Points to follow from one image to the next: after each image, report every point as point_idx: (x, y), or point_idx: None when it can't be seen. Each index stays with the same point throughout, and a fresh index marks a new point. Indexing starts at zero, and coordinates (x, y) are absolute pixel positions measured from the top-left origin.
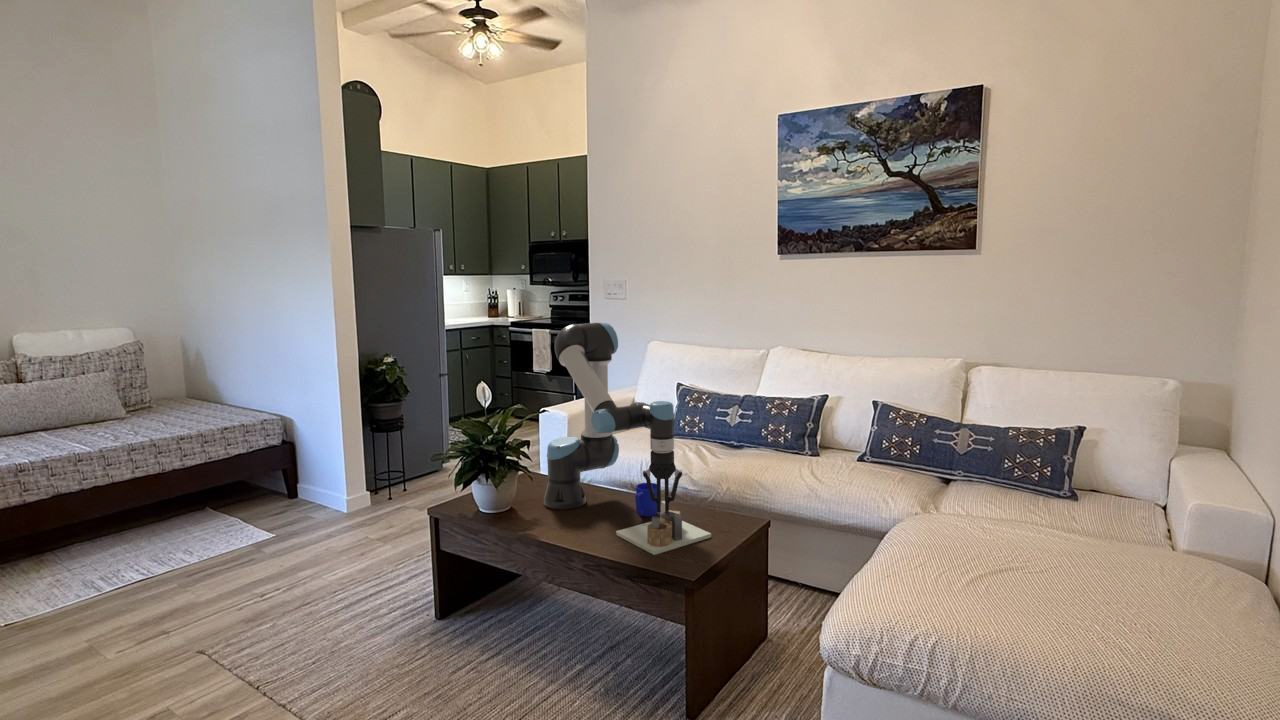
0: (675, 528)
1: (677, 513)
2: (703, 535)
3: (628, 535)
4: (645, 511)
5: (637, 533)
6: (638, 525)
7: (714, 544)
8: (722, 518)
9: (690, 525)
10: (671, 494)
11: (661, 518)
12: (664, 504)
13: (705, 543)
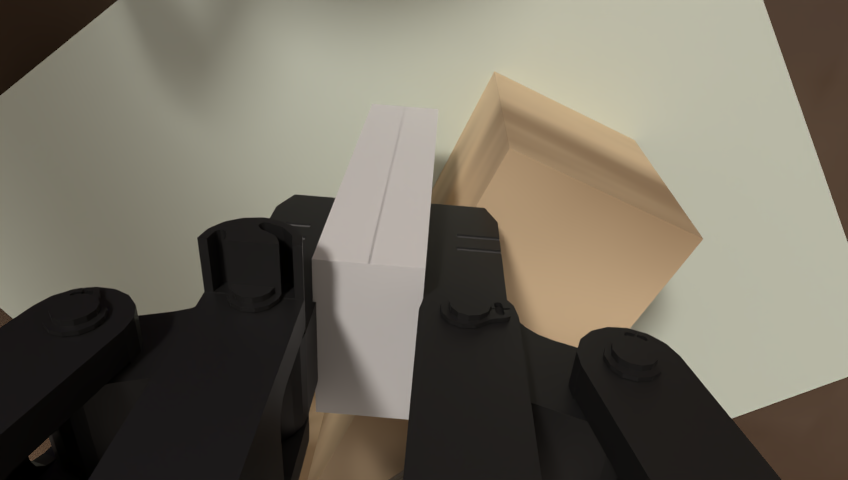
0: None
1: (621, 311)
2: (786, 393)
3: None
4: None
5: (125, 279)
6: (86, 46)
7: (811, 458)
8: None
9: (772, 121)
10: (620, 460)
11: (353, 444)
12: (399, 403)
13: (746, 436)
